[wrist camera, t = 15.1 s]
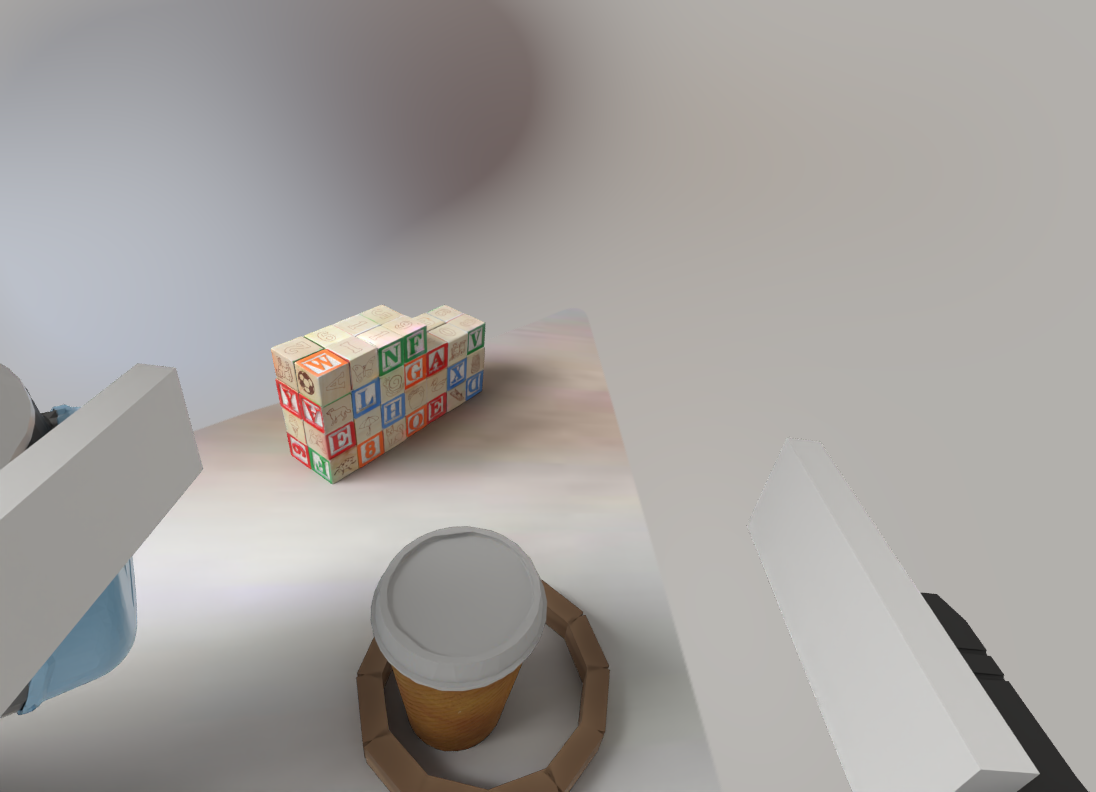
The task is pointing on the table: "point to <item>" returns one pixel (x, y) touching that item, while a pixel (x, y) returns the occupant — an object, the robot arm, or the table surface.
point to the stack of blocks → (374, 383)
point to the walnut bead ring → (541, 788)
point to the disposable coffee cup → (458, 630)
